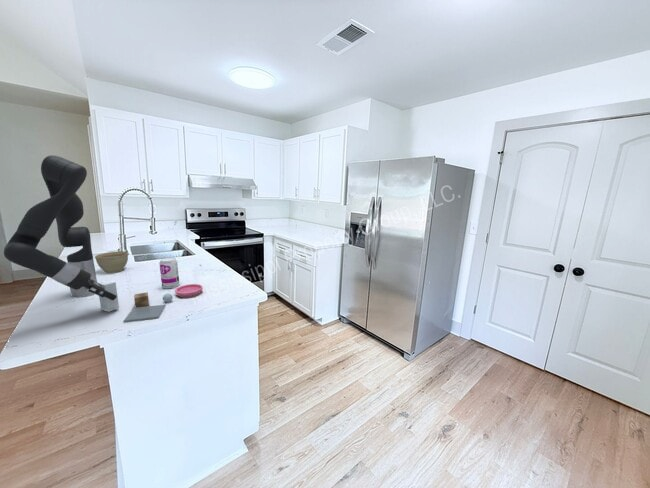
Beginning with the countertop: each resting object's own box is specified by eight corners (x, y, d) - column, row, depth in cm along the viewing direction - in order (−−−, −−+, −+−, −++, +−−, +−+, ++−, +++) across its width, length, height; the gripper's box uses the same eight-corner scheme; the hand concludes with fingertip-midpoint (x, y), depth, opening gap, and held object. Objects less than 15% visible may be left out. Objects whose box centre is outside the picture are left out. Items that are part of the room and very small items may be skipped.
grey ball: (162, 303, 120) (161, 295, 120) (164, 300, 124) (163, 292, 123) (171, 302, 122) (171, 294, 121) (173, 299, 125) (172, 291, 125)
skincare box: (119, 308, 114) (116, 282, 111) (108, 312, 110) (104, 285, 107) (111, 305, 116) (108, 279, 114) (100, 309, 112) (96, 282, 110)
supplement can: (171, 289, 138) (168, 262, 134) (158, 288, 139) (155, 260, 136) (182, 284, 145) (180, 258, 142) (170, 283, 147) (167, 257, 144)
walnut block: (135, 308, 115) (134, 298, 114) (135, 304, 119) (134, 294, 118) (149, 306, 118) (147, 295, 117) (148, 302, 122) (147, 292, 121)
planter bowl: (124, 265, 177) (122, 250, 174) (134, 270, 167) (131, 254, 165) (94, 271, 164) (91, 254, 162) (102, 276, 155) (99, 259, 152)
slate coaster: (123, 322, 103) (123, 320, 103) (134, 309, 114) (133, 307, 114) (158, 318, 107) (158, 316, 107) (165, 306, 118) (165, 304, 118)
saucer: (201, 297, 129) (200, 291, 128) (172, 300, 125) (172, 293, 125) (204, 288, 140) (204, 282, 140) (178, 290, 137) (178, 284, 136)
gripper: (82, 272, 99) (124, 293, 110) (76, 264, 108) (115, 284, 119) (65, 289, 96) (109, 308, 107) (60, 279, 105) (102, 298, 116)
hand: (112, 295), depth 113 cm, fingers closed on skincare box, 6 cm apart
